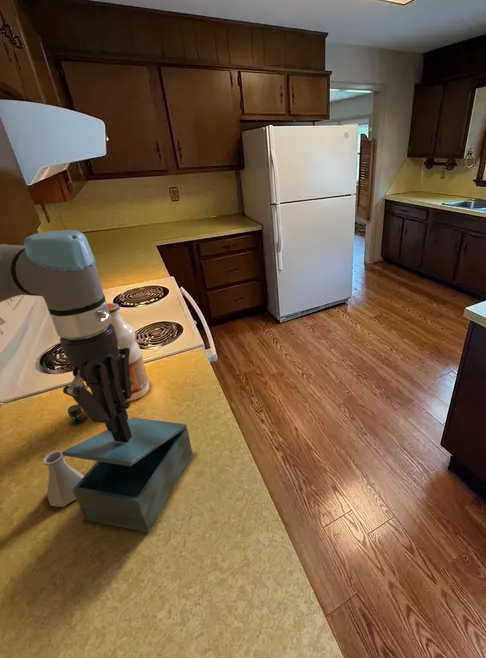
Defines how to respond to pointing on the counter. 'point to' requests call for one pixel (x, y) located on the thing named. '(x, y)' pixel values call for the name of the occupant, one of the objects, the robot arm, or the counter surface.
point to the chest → (134, 486)
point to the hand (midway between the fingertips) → (123, 438)
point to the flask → (61, 480)
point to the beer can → (75, 414)
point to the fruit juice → (136, 363)
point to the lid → (126, 453)
